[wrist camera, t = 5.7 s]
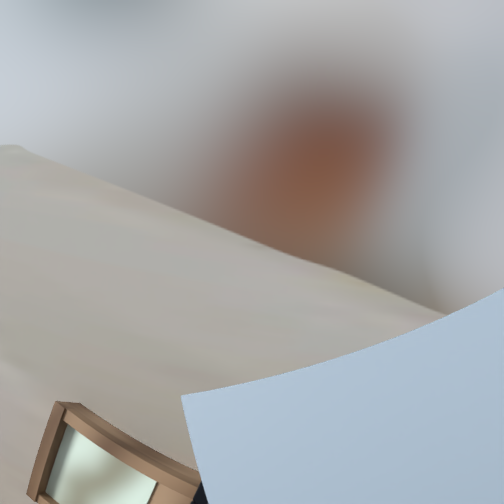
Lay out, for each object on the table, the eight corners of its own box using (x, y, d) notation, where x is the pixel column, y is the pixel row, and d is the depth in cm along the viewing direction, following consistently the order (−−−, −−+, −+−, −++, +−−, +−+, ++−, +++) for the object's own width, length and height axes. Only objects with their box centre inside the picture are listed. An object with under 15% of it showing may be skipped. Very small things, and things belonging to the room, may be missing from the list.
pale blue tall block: (366, 452, 13) (560, 532, 1) (279, 478, 12) (280, 668, 1) (344, 371, 15) (524, 276, 3) (257, 396, 15) (181, 395, 3)
